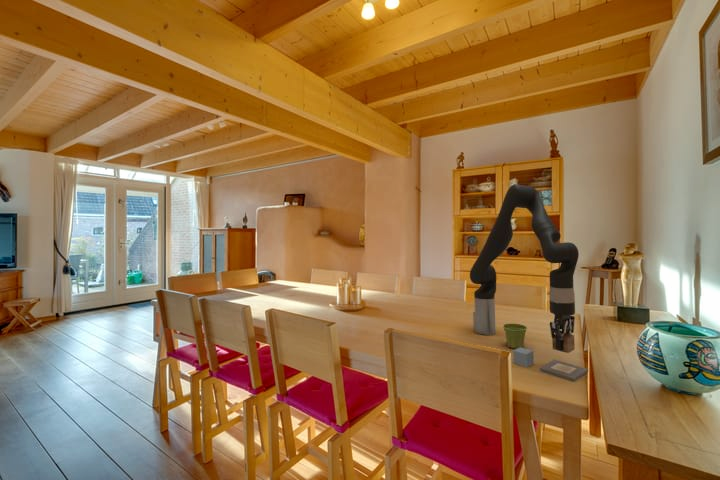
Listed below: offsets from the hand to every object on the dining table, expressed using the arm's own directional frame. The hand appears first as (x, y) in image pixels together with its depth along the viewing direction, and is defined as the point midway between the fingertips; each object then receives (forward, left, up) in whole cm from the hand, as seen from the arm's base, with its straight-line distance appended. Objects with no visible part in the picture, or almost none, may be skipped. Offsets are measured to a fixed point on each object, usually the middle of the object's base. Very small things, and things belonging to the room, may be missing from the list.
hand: (563, 347), depth 112 cm
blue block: (-12, -4, -8) cm, 15 cm away
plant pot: (-23, +10, -9) cm, 27 cm away
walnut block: (0, 0, 0) cm, 0 cm away
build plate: (0, 0, -8) cm, 8 cm away
